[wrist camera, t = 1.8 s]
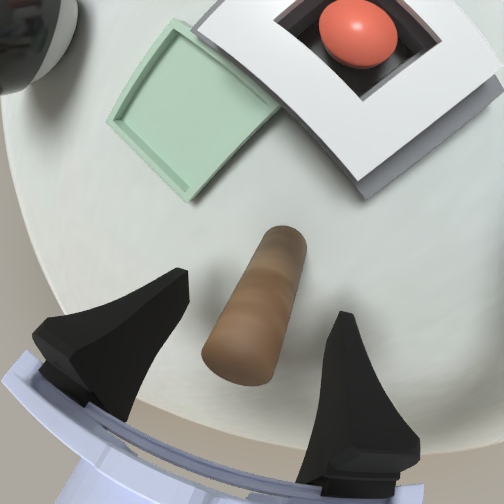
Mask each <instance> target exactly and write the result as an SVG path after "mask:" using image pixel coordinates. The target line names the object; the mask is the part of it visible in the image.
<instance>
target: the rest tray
mask: <svg viewBox="0 0 504 504" xmlns="http://www.w3.org/2000/svg"><path fill="white" fill-rule="evenodd" d="M192 28H193V27H191V26H190V25H188V24H187V23H185V22H183V21H181V20H178V19H175V18H173V19H172V20H171V22H170V23H169V24H168V25H167V26H166V28H165V29H164V30H163V32H162V33H161V34H160V35H159V37H158V38H157V39H156V41H155V42H154V44H153V45H152V46H151V48H150V49H149V50H148V52H147V53H146V55H145V56H144V58H143V59H142V61H141V62H140V64H139V65H138V67H137V68H136V70H135V71H134V73H133V74H132V76H131V78H130V79H129V81H128V82H127V84H126V86H125V87H124V89H123V91H122V93H121V94H120V96H119V98H118V100H117V101H116V103H115V105H114V107H113V109H112V111H111V113H110V114H109V116H108V118H107V120H106V123H107V124H108V125H109V126H110V127H111V128H112V129H113V130H114V131H115V133H116V134H117V135H118V136H119V137H120V138H121V139H122V140H123V141H124V142H125V143H126V144H127V145H128V146H129V147H130V148H131V149H132V150H133V151H134V152H135V153H136V154H137V155H138V156H139V157H140V158H141V159H142V160H143V161H144V162H145V163H146V164H147V165H148V166H149V167H150V168H151V169H152V170H153V171H154V172H155V173H156V174H157V175H158V176H159V177H160V178H161V179H162V180H163V181H164V182H165V183H166V184H167V185H168V186H169V187H170V188H171V189H172V190H173V191H174V192H175V193H176V194H177V195H178V196H179V197H180V198H181V199H182V200H183V201H184V202H185V203H186V204H187V203H188V202H189V201H191V200H192V199H193V198H195V197H196V196H197V195H198V193H199V192H200V191H201V190H202V189H203V188H204V187H205V186H206V184H207V183H208V182H209V181H210V180H211V179H212V178H213V177H214V176H215V174H216V173H217V172H218V171H219V170H220V169H221V168H222V167H223V166H224V165H225V164H226V163H227V161H228V160H229V159H230V158H231V157H232V156H233V155H234V154H235V153H236V152H237V151H238V150H239V149H240V148H241V147H242V146H243V145H244V144H245V143H246V142H247V141H248V140H249V139H250V137H251V136H252V135H253V134H254V133H255V132H256V131H257V130H258V129H259V128H260V127H261V126H262V125H263V124H265V123H266V122H267V121H268V120H269V119H270V118H271V117H272V116H273V115H274V114H275V113H276V112H277V111H278V110H279V109H280V108H281V107H282V106H281V105H280V104H279V103H278V102H276V101H275V100H274V99H273V98H272V97H271V96H270V95H269V94H268V93H267V92H266V91H265V90H263V89H262V88H261V87H260V86H259V85H258V84H257V83H256V82H254V81H253V80H252V79H251V78H250V77H249V76H247V75H246V74H245V73H244V72H243V71H241V70H240V69H239V68H238V67H237V66H235V65H234V64H233V63H232V62H230V61H229V60H228V59H227V58H225V57H224V56H223V55H222V54H220V53H219V52H218V51H216V50H215V49H214V48H212V47H211V46H210V45H208V44H207V43H206V42H204V41H203V40H202V39H200V38H199V37H197V36H196V35H195V34H193V33H192V32H190V30H191V29H192Z"/></svg>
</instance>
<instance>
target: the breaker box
mask: <svg viewBox="0 0 504 504" xmlns="http://www.w3.org/2000/svg"><path fill="white" fill-rule="evenodd" d="M335 1H337V0H218V1H217V2H216V3H215V4H214V5H213V6H212V7H211V8H210V9H209V10H208V11H207V12H206V13H205V14H204V15H203V16H202V18H201V19H200V20H199V21H198V22H197V23H196V24H195V25H194V27H193V28H192V29H191V30H190V32H192V33H193V34H195V35H196V36H197V37H199V38H200V39H202V40H203V41H204V42H206V43H207V44H208V45H210V46H211V47H212V48H214V49H215V50H216V51H218V52H219V53H220V54H222V55H223V56H224V57H225V58H227V59H228V60H229V61H230V62H232V63H233V64H234V65H235V66H237V67H238V68H239V69H240V70H241V71H243V72H244V73H245V74H246V75H247V76H249V77H250V78H251V79H252V80H253V81H254V82H256V83H257V84H258V85H259V86H260V87H261V88H262V89H263V90H265V91H266V92H267V93H268V94H269V95H270V96H271V97H272V98H273V99H274V100H275V101H276V102H278V103H279V104H280V105H281V106H282V107H283V108H284V109H285V110H286V111H287V112H288V113H289V114H290V115H291V116H292V117H293V118H294V119H295V120H296V121H297V122H298V123H299V124H300V125H301V126H302V127H303V128H304V129H305V130H306V131H307V132H308V133H309V134H310V135H311V136H312V137H313V138H314V140H315V141H316V142H317V143H318V144H319V145H320V146H321V147H322V148H323V149H324V150H325V152H326V153H327V154H328V155H329V156H330V157H331V158H332V159H333V161H334V162H335V163H336V164H337V165H338V166H339V167H340V169H341V170H342V171H343V172H344V173H345V174H346V176H347V177H348V178H349V179H350V180H351V182H352V183H353V184H354V185H355V187H356V188H357V189H358V190H359V192H360V193H361V194H362V195H363V197H364V198H365V199H366V200H367V199H368V198H370V197H371V196H372V195H374V194H375V193H376V192H378V191H379V190H380V189H382V188H383V187H384V186H386V185H387V184H388V183H390V182H391V181H392V180H394V179H395V178H396V177H398V176H399V175H400V174H402V173H403V172H404V171H405V170H407V169H408V168H409V167H411V166H412V165H413V164H415V163H416V162H417V161H419V160H420V159H421V158H422V157H424V156H425V155H426V154H428V153H429V152H430V151H431V150H433V149H434V148H435V147H436V146H438V145H439V144H440V143H442V142H443V141H444V140H445V139H447V138H448V137H449V136H450V135H452V134H453V133H454V132H455V131H457V130H458V129H459V128H460V127H462V126H463V125H464V124H465V123H467V122H468V121H469V120H470V119H472V118H473V117H474V116H475V115H476V114H478V113H479V112H480V111H481V110H483V109H484V108H485V107H486V106H487V105H489V104H490V103H491V102H492V101H493V100H495V99H496V98H497V97H498V96H499V95H501V94H502V93H503V92H504V89H503V87H502V85H501V84H500V82H499V80H498V79H497V77H496V75H495V73H496V72H497V71H498V70H500V69H501V68H502V67H503V64H502V62H501V61H500V59H499V58H498V56H497V55H496V53H495V52H494V50H493V49H492V47H491V46H490V45H489V43H488V42H487V40H486V39H485V38H484V36H483V35H482V34H481V32H480V31H479V30H478V28H477V27H476V26H475V25H474V23H473V22H472V21H471V20H470V19H469V17H468V16H467V15H466V14H465V13H464V11H463V10H462V9H461V8H460V7H459V6H458V5H457V4H456V3H455V2H454V0H365V1H368V2H371V3H373V4H375V5H376V6H378V7H380V8H381V9H382V10H383V11H385V12H386V13H387V14H388V16H389V17H390V18H391V20H392V21H393V23H394V25H395V27H396V30H397V37H398V38H399V39H400V40H401V42H402V43H403V44H404V45H405V46H406V47H407V48H408V49H409V50H410V51H411V52H412V54H413V55H412V56H411V57H409V58H408V59H407V60H405V61H404V62H403V63H401V64H400V65H399V66H397V67H396V68H395V69H394V70H392V71H391V72H390V73H388V74H387V75H386V76H385V77H383V78H382V79H381V80H379V81H378V82H377V83H376V84H374V85H373V86H372V87H371V88H369V89H368V90H367V91H366V92H364V93H363V94H362V95H361V96H359V97H358V96H357V95H356V94H355V93H354V92H353V91H352V90H351V89H350V88H349V86H348V85H347V84H346V83H345V82H344V81H343V80H342V79H341V78H340V77H339V76H338V75H337V74H336V73H335V72H334V71H333V70H332V69H330V68H329V67H328V66H327V65H326V64H325V63H324V62H323V61H322V60H321V59H320V58H319V57H318V56H316V55H315V54H314V53H313V52H312V51H311V50H310V49H308V48H307V47H306V46H305V45H304V44H303V43H301V42H300V41H299V40H298V39H296V37H298V36H299V35H300V34H301V33H302V32H303V31H305V30H306V29H307V28H308V27H309V26H311V25H312V24H313V23H314V22H316V21H317V20H318V19H319V18H320V16H321V14H322V12H323V11H324V9H325V8H326V7H327V6H328V5H330V4H331V3H333V2H335Z"/></svg>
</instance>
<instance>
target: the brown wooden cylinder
mask: <svg viewBox="0 0 504 504" xmlns="http://www.w3.org/2000/svg"><path fill="white" fill-rule="evenodd" d="M306 251H307V245H306V241H305V239H304V237H303V236H302V234H301V233H300V232H299V231H297V230H296V229H294V228H292V227H289V226H276V227H273V228H271V229H269V230H268V231H267V232H266V233H265V235H264V237H263V238H262V240H261V242H260V244H259V246H258V248H257V249H256V251H255V253H254V255H253V257H252V259H251V260H250V262H249V264H248V266H247V268H246V270H245V271H244V273H243V275H242V277H241V279H240V281H239V283H238V284H237V286H236V288H235V290H234V292H233V294H232V295H231V297H230V299H229V301H228V303H227V305H226V306H225V308H224V310H223V312H222V314H221V316H220V317H219V319H218V321H217V323H216V325H215V327H214V328H213V330H212V332H211V334H210V336H209V338H208V339H207V341H206V343H205V345H204V347H203V349H202V352H201V355H202V359H203V361H204V363H205V364H206V365H207V367H208V368H209V369H210V370H211V371H212V372H214V373H215V374H216V375H218V376H220V377H221V378H223V379H225V380H227V381H230V382H232V383H235V384H239V385H244V386H260V385H263V384H266V383H268V382H269V381H270V380H271V379H272V377H273V374H274V371H275V367H276V364H277V361H278V357H279V354H280V350H281V347H282V343H283V340H284V336H285V333H286V329H287V326H288V322H289V318H290V315H291V311H292V307H293V303H294V300H295V296H296V292H297V288H298V284H299V280H300V276H301V272H302V268H303V264H304V259H305V255H306Z"/></svg>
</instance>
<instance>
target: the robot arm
mask: <svg viewBox="0 0 504 504" xmlns="http://www.w3.org/2000/svg"><path fill="white" fill-rule="evenodd" d="M189 302H190V300H189V282H188V270H184V269H181V268H175V269H173V270H171V271H169V272H168V273H166V274H164V275H162V276H161V277H159V278H157V279H156V280H154V281H152V282H150V283H148V284H147V285H145V286H143V287H141V288H139V289H137V290H136V291H134V292H132V293H130V294H128V295H126V296H124V297H122V298H119V299H117V300H115V301H112V302H110V303H107V304H105V305H102V306H99V307H96V308H93V309H90V310H86V311H82V312H78V313H74V314H69V315H64V316H57V317H49V318H47V319H46V320H45V321H44V322H43V323H42V324H41V325H40V326H39V327H38V328H37V329H36V330H35V331H34V332H33V333H32V338H33V340H34V342H35V344H36V346H37V347H38V349H39V350H40V352H41V353H42V355H43V356H44V358H45V359H46V361H45V363H44V364H43V363H42V362H41V361H40V360H39V359H38V358H37V357H36V356H35V355H33V354H32V353H31V352H30V351H29V350H26V351H25V352H24V353H23V354H22V355H21V357H20V358H19V359H18V360H17V361H16V362H15V364H14V365H13V366H12V367H11V369H10V370H9V371H8V372H7V373H6V375H5V376H4V377H3V379H2V383H3V384H4V385H5V386H6V387H7V388H8V389H9V391H10V392H11V393H12V394H13V395H14V396H15V397H16V398H17V399H18V400H19V402H20V403H21V404H22V405H23V406H24V407H25V408H26V409H27V410H28V411H29V412H30V413H31V414H32V415H33V416H34V417H35V418H36V419H37V420H38V421H39V422H40V423H41V424H42V425H44V426H45V427H46V428H47V429H48V430H49V431H50V432H51V433H52V434H53V435H55V436H56V437H57V438H58V439H60V441H62V442H63V443H64V444H65V445H67V446H68V447H69V448H71V449H72V450H73V451H74V452H75V453H77V454H78V455H79V456H81V457H82V458H81V459H80V461H79V463H78V465H77V466H76V468H75V469H74V471H73V473H72V474H71V476H70V478H69V479H68V481H67V483H66V484H65V486H64V488H63V489H62V491H61V493H60V495H59V496H58V498H57V500H56V501H55V503H54V504H423V495H424V484H412V485H400V486H396V481H397V480H399V479H400V472H401V471H404V470H406V469H407V468H410V467H412V466H414V465H415V464H417V463H418V461H419V460H420V438H419V437H418V436H417V435H416V434H415V433H414V432H413V430H412V429H411V428H410V427H409V426H408V425H407V423H406V422H405V421H404V420H403V418H402V417H401V416H400V414H399V413H398V412H397V410H396V409H395V407H394V405H393V404H392V402H391V401H390V399H389V398H388V396H387V395H386V393H385V391H384V389H383V387H382V386H381V384H380V382H379V380H378V378H377V376H376V374H375V371H374V369H373V367H372V365H371V362H370V360H369V358H368V355H367V352H366V350H365V347H364V345H363V342H362V339H361V336H360V333H359V330H358V327H357V324H356V321H355V317H354V315H353V314H352V313H347V312H343V311H340V312H339V314H338V317H337V319H336V321H335V324H334V326H333V328H332V330H331V332H330V335H329V337H328V339H327V342H326V347H325V353H324V358H323V367H322V378H321V388H320V398H319V405H318V410H317V415H316V419H315V423H314V427H313V431H312V434H311V438H310V441H309V445H308V448H307V451H306V454H305V457H304V460H303V463H302V466H301V469H300V471H299V474H298V477H297V479H296V482H295V483H292V482H287V481H282V480H276V479H272V478H267V477H263V476H259V475H255V474H251V473H247V472H243V471H240V470H236V469H233V468H229V467H226V466H223V465H220V464H217V463H214V462H211V461H208V460H205V459H203V458H200V457H197V456H194V455H192V454H189V453H187V452H184V451H182V450H180V449H177V448H175V447H173V446H170V445H168V444H166V443H163V442H161V441H159V440H157V439H155V438H153V437H151V436H149V435H147V434H145V433H143V432H141V431H139V430H137V429H135V428H133V427H131V426H129V425H127V424H126V423H125V422H127V420H128V416H129V414H130V411H131V408H132V406H133V403H134V400H135V398H136V396H137V393H138V391H139V389H140V386H141V384H142V382H143V380H144V378H145V376H146V374H147V372H148V370H149V368H150V366H151V364H152V362H153V360H154V358H155V357H156V355H157V353H158V352H159V350H160V349H161V347H162V346H163V344H164V343H165V342H166V340H167V339H168V337H169V336H170V334H171V333H172V331H173V330H174V329H175V327H176V326H177V324H178V323H179V321H180V320H181V318H182V316H183V314H184V312H185V310H186V308H187V306H188V304H189ZM107 430H108V431H110V432H111V433H113V434H115V435H116V436H118V437H120V438H121V439H123V440H125V441H127V442H128V443H130V444H132V445H134V446H136V447H138V448H140V449H142V450H144V451H146V452H148V453H150V454H152V455H154V456H156V457H158V458H160V459H162V460H164V461H167V462H169V463H172V464H173V465H176V466H178V467H181V468H183V469H186V470H188V471H191V472H193V473H196V474H199V475H202V476H204V477H207V478H210V479H213V480H216V481H219V482H223V483H226V484H229V485H232V486H236V487H239V488H243V489H247V490H251V491H255V492H259V493H263V494H257V493H250V494H249V496H248V497H246V499H242V498H239V497H236V496H232V495H230V494H226V493H223V492H220V491H218V490H215V489H212V488H209V487H206V486H204V485H201V484H198V483H196V482H193V481H191V480H188V479H186V478H183V477H181V476H178V475H176V474H174V473H171V472H169V471H167V470H165V469H163V468H160V467H158V466H156V465H154V464H152V463H150V462H148V461H146V460H144V459H142V458H140V457H138V455H137V454H136V453H135V452H133V451H132V450H131V449H130V448H128V447H127V446H126V444H125V443H124V442H122V441H121V440H120V439H118V438H117V437H115V436H114V435H112V434H111V433H109V432H108V431H107ZM395 486H396V487H395ZM264 494H268V495H264ZM272 495H273V496H272Z"/></svg>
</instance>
